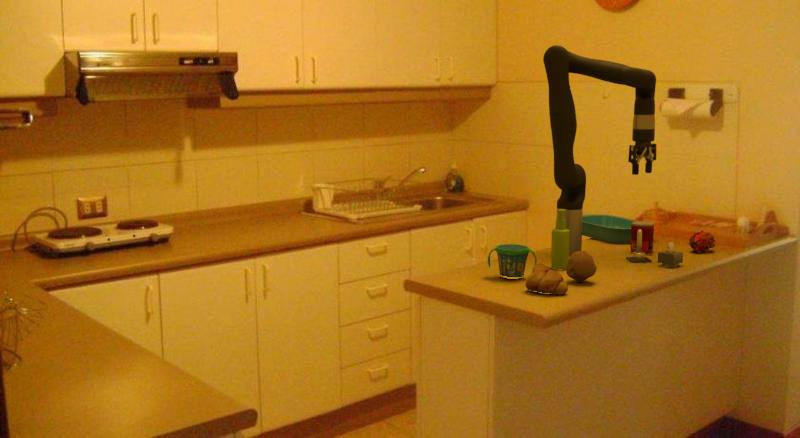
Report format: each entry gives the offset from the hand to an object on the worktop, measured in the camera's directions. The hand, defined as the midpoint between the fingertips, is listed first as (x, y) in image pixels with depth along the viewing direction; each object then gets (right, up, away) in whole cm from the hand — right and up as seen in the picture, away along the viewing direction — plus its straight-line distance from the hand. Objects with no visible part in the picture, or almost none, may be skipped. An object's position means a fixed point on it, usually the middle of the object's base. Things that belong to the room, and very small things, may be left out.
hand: (641, 173), depth 299 cm
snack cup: (-49, -35, -26) cm, 66 cm away
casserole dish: (0, -24, +46) cm, 51 cm away
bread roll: (-42, -38, -46) cm, 73 cm away
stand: (-2, -31, -1) cm, 31 cm away
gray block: (+7, -31, -10) cm, 33 cm away
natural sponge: (-29, -36, -33) cm, 57 cm away
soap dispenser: (-31, -33, -11) cm, 47 cm away
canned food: (+4, -29, +14) cm, 32 cm away
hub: (+7, -32, -10) cm, 34 cm away
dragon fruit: (+26, -28, +14) cm, 41 cm away
